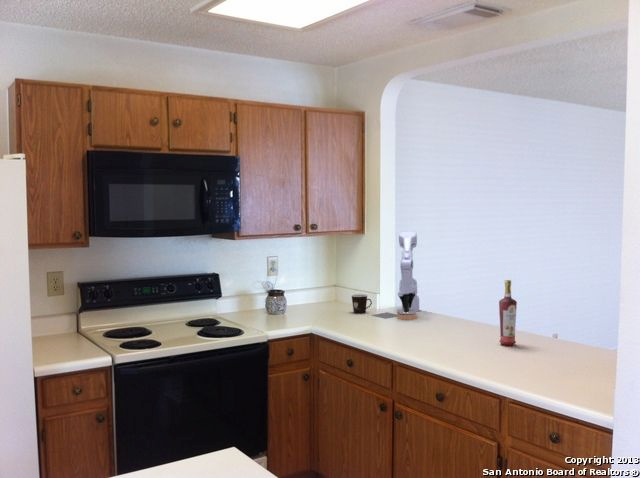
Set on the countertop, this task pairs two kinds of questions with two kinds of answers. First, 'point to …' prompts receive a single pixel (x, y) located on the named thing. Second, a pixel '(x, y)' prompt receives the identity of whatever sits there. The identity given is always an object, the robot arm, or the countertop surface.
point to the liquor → (507, 317)
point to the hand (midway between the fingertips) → (407, 308)
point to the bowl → (407, 316)
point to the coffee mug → (360, 303)
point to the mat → (385, 315)
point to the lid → (406, 311)
